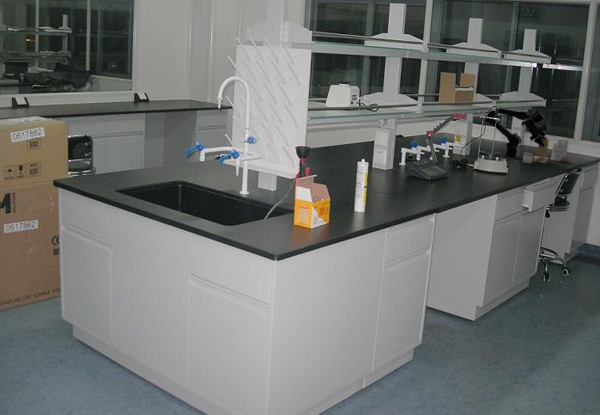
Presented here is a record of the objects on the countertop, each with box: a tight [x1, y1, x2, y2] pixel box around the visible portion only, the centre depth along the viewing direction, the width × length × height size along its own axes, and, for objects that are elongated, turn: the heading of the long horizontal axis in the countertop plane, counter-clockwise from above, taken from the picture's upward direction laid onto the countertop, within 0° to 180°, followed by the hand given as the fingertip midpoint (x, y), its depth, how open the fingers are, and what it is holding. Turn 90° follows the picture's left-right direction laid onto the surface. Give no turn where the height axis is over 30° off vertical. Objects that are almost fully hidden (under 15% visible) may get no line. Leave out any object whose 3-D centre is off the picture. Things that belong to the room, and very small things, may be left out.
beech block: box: [532, 155, 549, 164], centre depth 470 cm, size 9×9×3 cm
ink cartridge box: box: [550, 139, 569, 162], centre depth 480 cm, size 9×5×15 cm, turn 105°
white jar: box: [522, 152, 535, 164], centre depth 460 cm, size 6×6×6 cm
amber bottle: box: [536, 136, 550, 157], centre depth 468 cm, size 5×5×12 cm
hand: (545, 146), depth 467 cm, fingers closed on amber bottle, 5 cm apart
